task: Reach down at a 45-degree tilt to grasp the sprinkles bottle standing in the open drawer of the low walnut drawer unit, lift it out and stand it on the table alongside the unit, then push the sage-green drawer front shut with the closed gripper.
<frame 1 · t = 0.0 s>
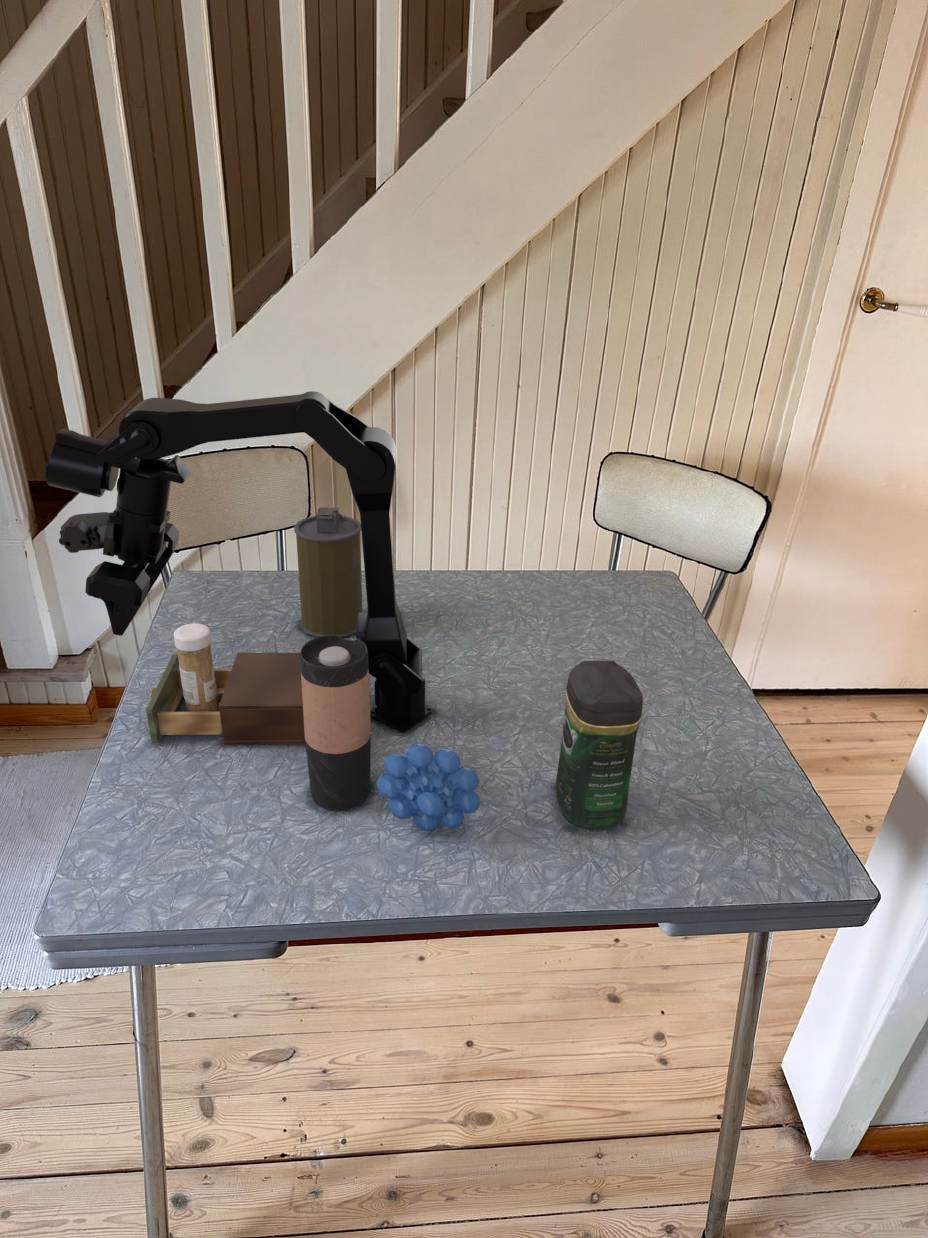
hand: (129, 616, 107), 15 cm above the table, tool pointing down, fingers open, 9 cm apart
sprinkles bottle: (203, 717, 115), resting in drawer
canister: (332, 624, 140), on the table
coffee jar: (589, 806, 102), on the table
travel mug: (340, 793, 102), on the table
drawer: (203, 697, 114), point 3 cm above the table, slide at 8.0 cm
drawer unit: (277, 715, 116), on the table
grapes: (428, 835, 96), on the table
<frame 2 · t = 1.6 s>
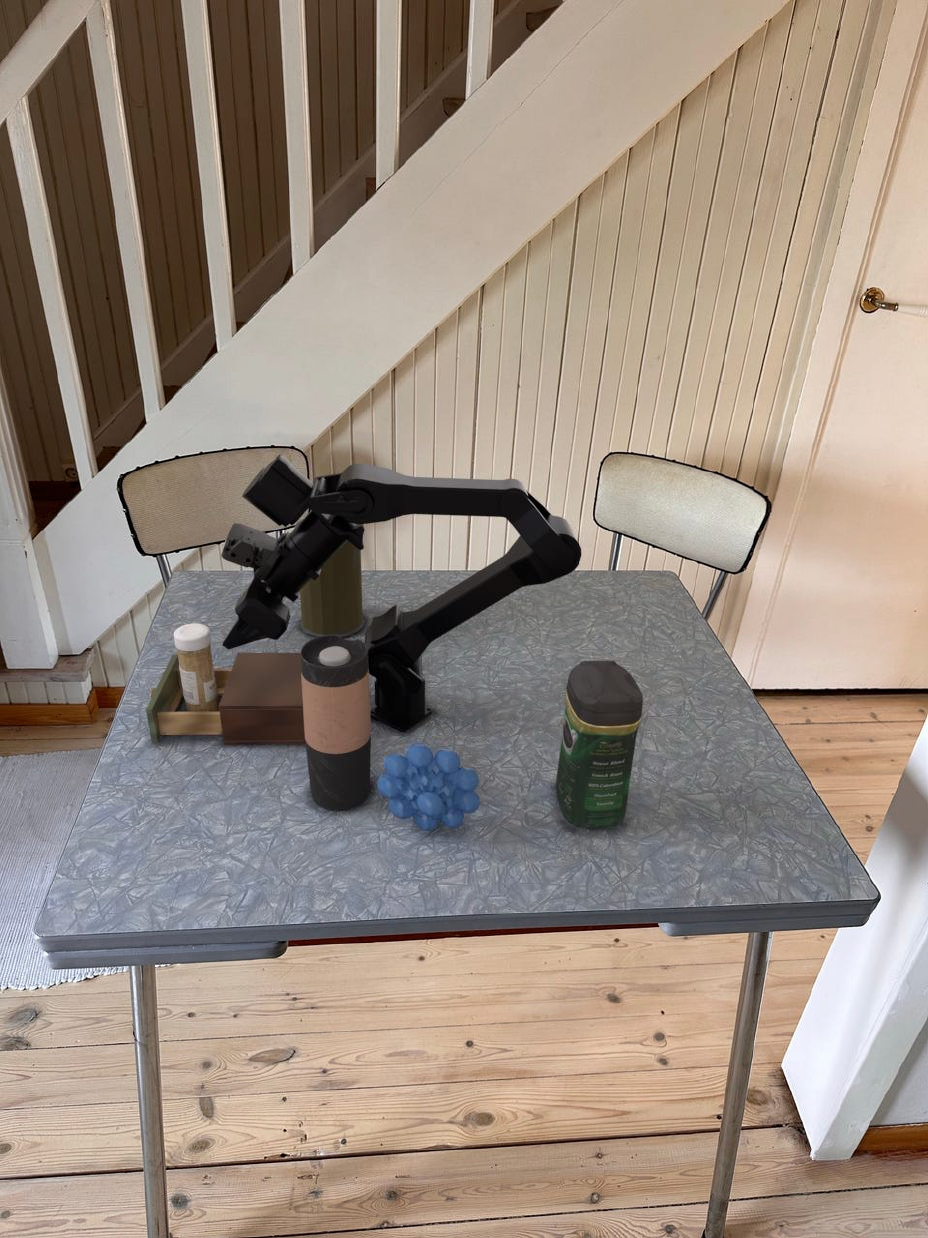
hand: (232, 628, 109), 14 cm above the table, tool tilted 40°, fingers open, 9 cm apart
nothing on the table moved.
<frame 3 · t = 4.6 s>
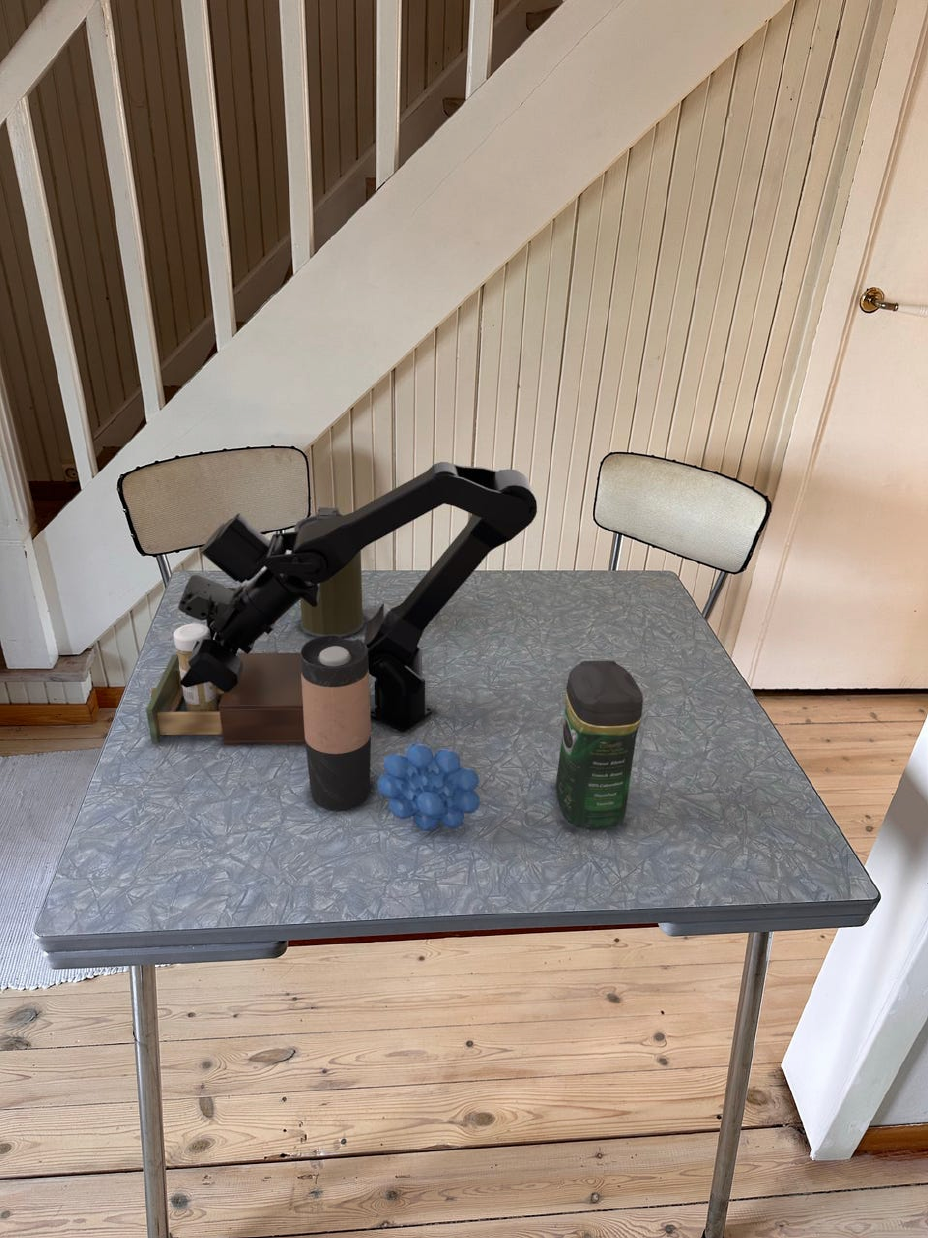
hand: (187, 675, 112), 7 cm above the table, tool tilted 45°, fingers closed on sprinkles bottle, 4 cm apart
sprinkles bottle: (203, 717, 115), resting in drawer, touching gripper
everything else where it was.
when the fingers open (7 cm above the table, at t = 10.8 s): sprinkles bottle stays where it is, on the table.
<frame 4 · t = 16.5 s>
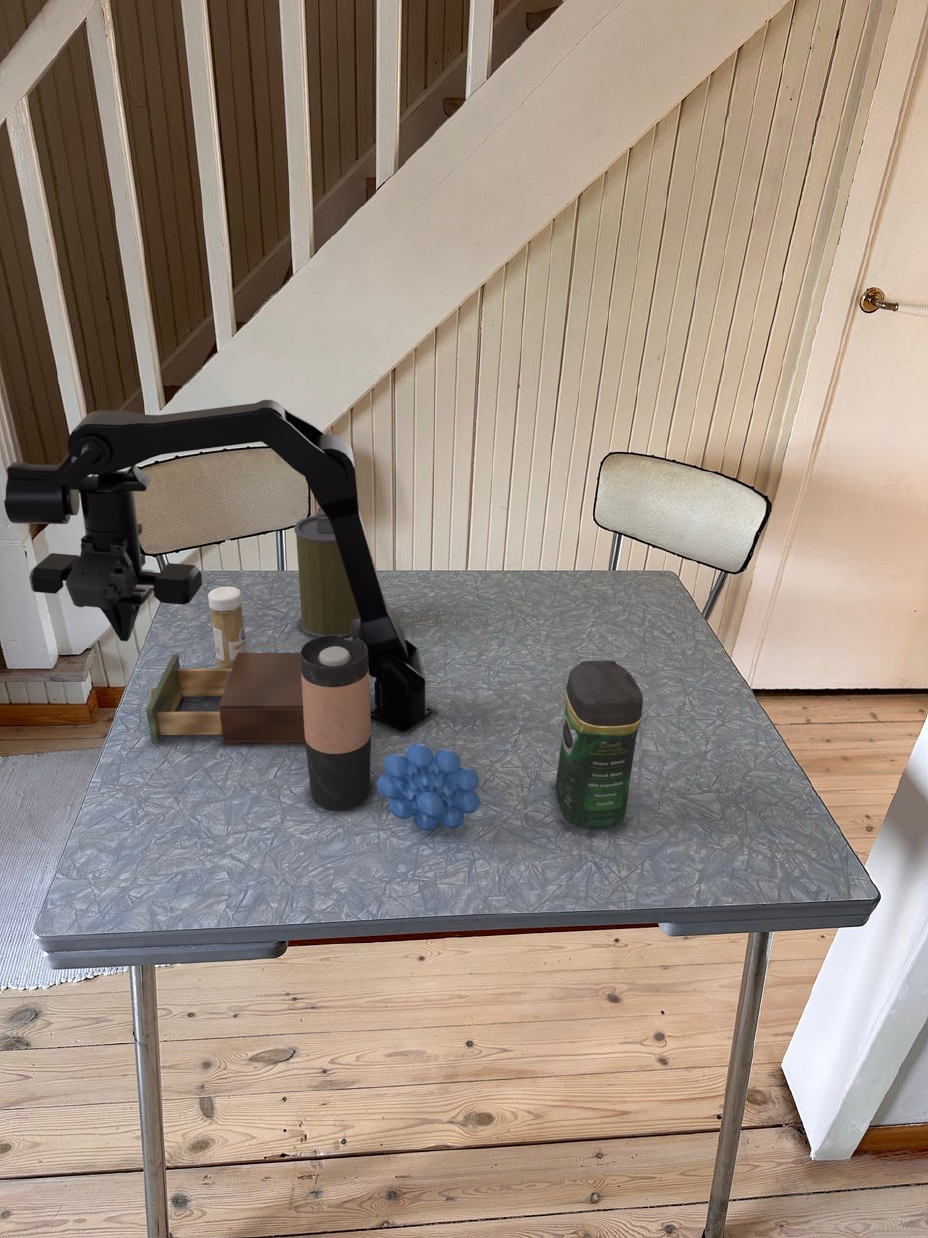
hand: (125, 639, 105), 14 cm above the table, tool pointing down, fingers closed
sprinkles bottle: (233, 674, 125), on the table
everything else where it was.
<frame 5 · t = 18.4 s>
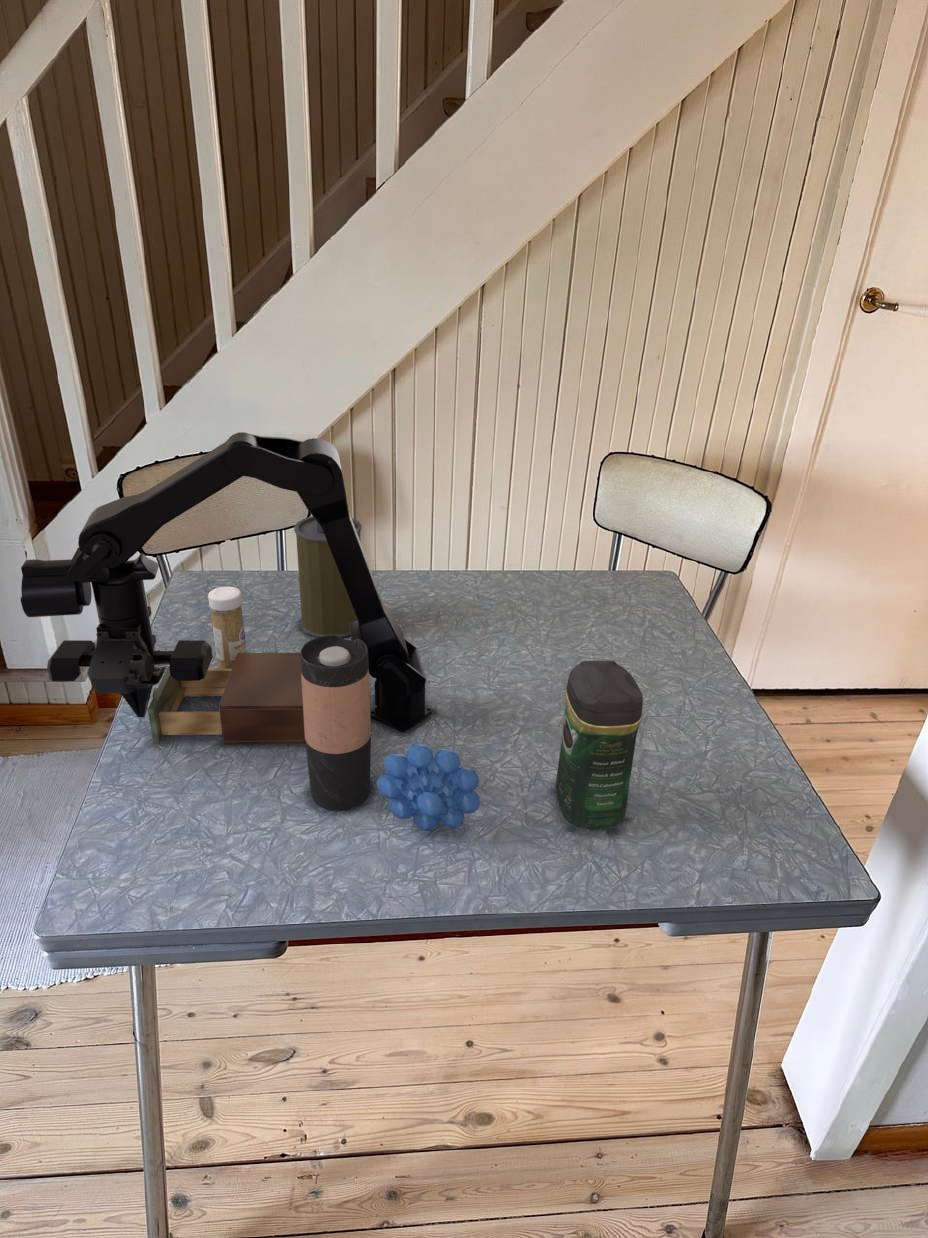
hand: (142, 715, 109), 3 cm above the table, tool pointing down, fingers closed
drawer: (205, 697, 114), point 3 cm above the table, slide at 7.8 cm, touching gripper
everything else where it was.
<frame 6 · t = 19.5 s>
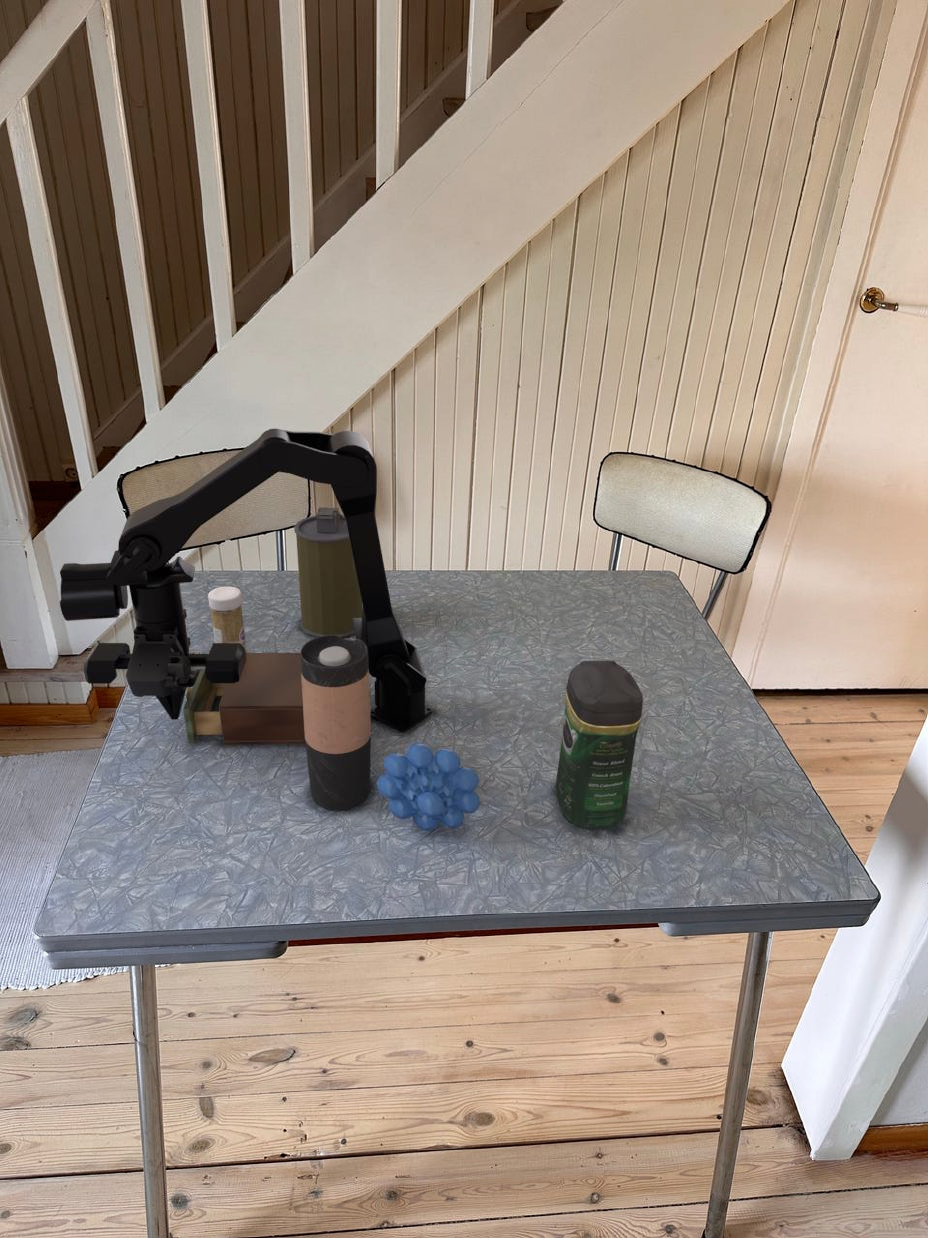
hand: (175, 718, 110), 3 cm above the table, tool pointing down, fingers closed
drawer: (238, 697, 114), point 3 cm above the table, slide at 3.3 cm, touching gripper
everything else where it was.
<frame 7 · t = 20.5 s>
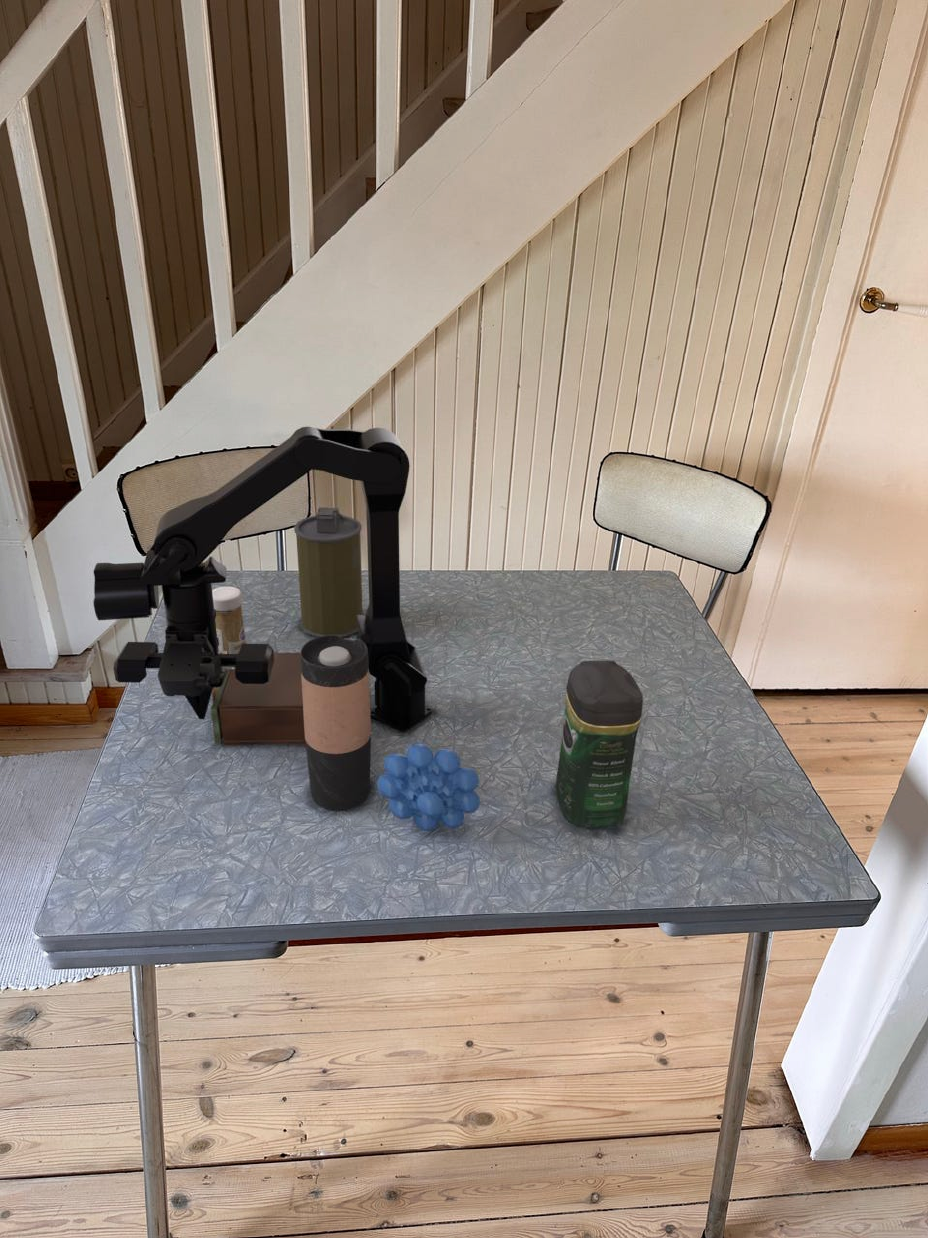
hand: (202, 717, 110), 3 cm above the table, tool pointing down, fingers closed
drawer: (263, 696, 114), point 3 cm above the table, slide at -0.1 cm, touching gripper
everything else where it was.
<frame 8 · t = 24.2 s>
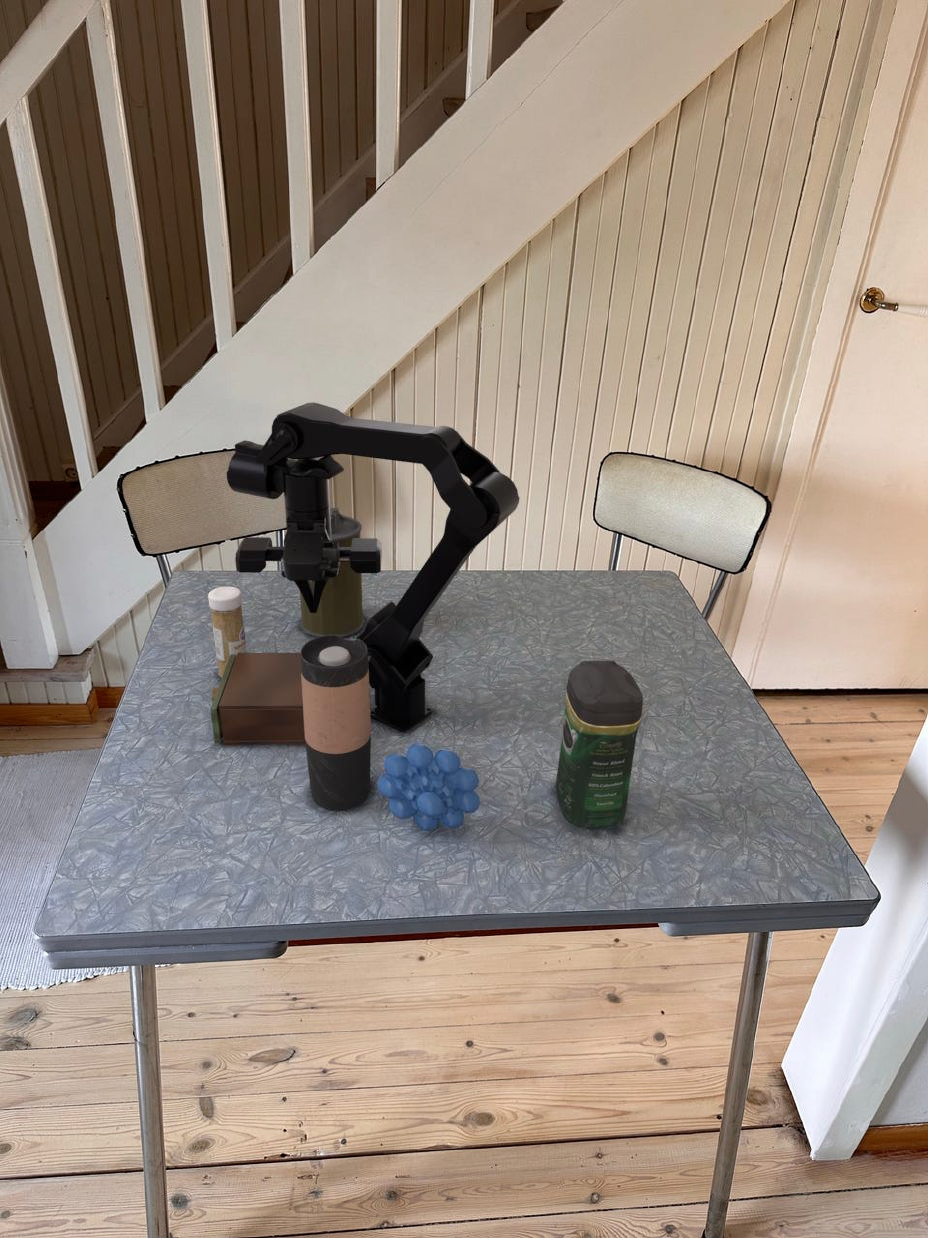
hand: (313, 611, 115), 13 cm above the table, tool pointing down, fingers closed
drawer: (263, 696, 114), point 3 cm above the table, slide at 0.0 cm
everything else where it was.
at the end: sprinkles bottle 0.2 cm from the target spot, on the table; sprinkles bottle tilted 0°; drawer slide at 0.0 cm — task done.
